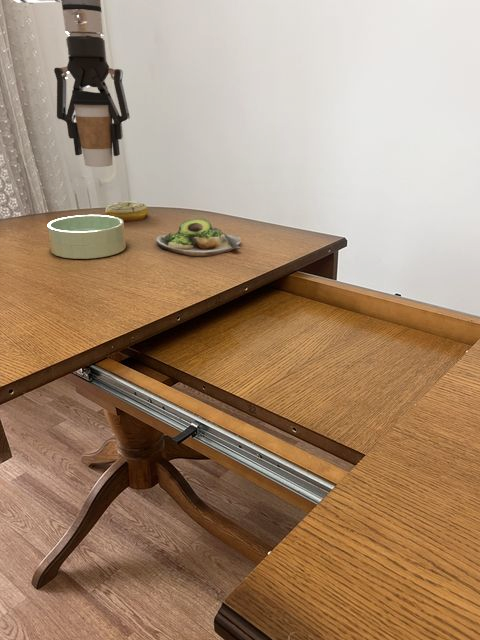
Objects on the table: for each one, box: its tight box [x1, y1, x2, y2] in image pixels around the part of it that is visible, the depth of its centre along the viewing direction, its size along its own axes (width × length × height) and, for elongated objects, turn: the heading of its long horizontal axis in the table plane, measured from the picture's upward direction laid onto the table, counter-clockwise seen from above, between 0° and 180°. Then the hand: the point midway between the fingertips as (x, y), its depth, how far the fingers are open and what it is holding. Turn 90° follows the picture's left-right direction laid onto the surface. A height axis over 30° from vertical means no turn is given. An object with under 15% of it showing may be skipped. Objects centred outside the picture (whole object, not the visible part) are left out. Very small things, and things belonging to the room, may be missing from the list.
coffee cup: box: [71, 89, 113, 168], centre depth 118 cm, size 8×8×15 cm
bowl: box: [47, 214, 127, 260], centre depth 115 cm, size 15×15×6 cm
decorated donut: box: [105, 201, 149, 222], centre depth 144 cm, size 10×11×4 cm
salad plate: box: [155, 218, 241, 257], centre depth 120 cm, size 19×18×5 cm
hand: (97, 154), depth 120 cm, fingers closed on coffee cup, 8 cm apart
